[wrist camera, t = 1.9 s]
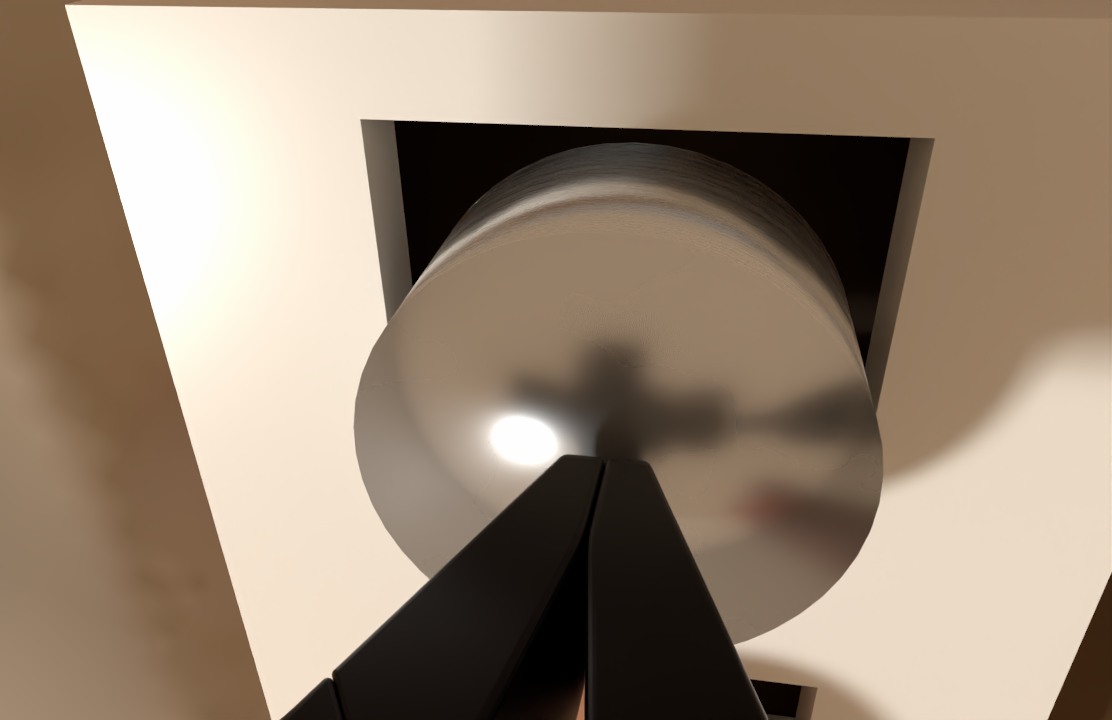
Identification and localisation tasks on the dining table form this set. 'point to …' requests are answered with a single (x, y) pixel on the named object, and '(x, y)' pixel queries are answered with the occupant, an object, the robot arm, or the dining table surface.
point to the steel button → (633, 372)
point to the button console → (649, 103)
